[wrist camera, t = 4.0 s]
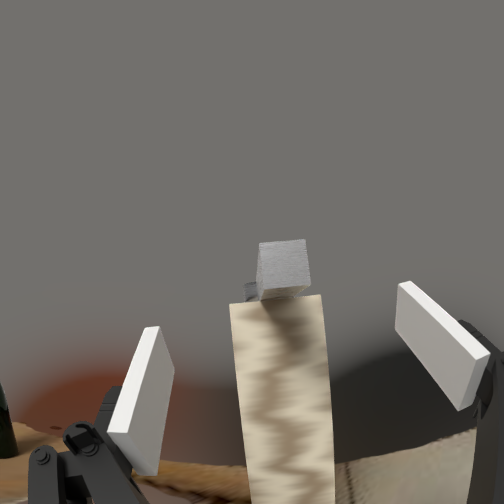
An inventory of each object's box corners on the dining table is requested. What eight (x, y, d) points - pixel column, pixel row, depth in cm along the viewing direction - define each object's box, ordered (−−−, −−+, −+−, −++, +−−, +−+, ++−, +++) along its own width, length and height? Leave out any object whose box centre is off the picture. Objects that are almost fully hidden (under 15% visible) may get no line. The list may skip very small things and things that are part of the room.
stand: (313, 501, 39) (298, 304, 47) (334, 556, 24) (320, 294, 31) (259, 508, 39) (237, 310, 46) (261, 566, 23) (229, 304, 31)
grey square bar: (290, 304, 45) (287, 272, 46) (336, 281, 20) (325, 214, 21) (245, 309, 45) (242, 277, 46) (237, 292, 20) (231, 222, 21)
